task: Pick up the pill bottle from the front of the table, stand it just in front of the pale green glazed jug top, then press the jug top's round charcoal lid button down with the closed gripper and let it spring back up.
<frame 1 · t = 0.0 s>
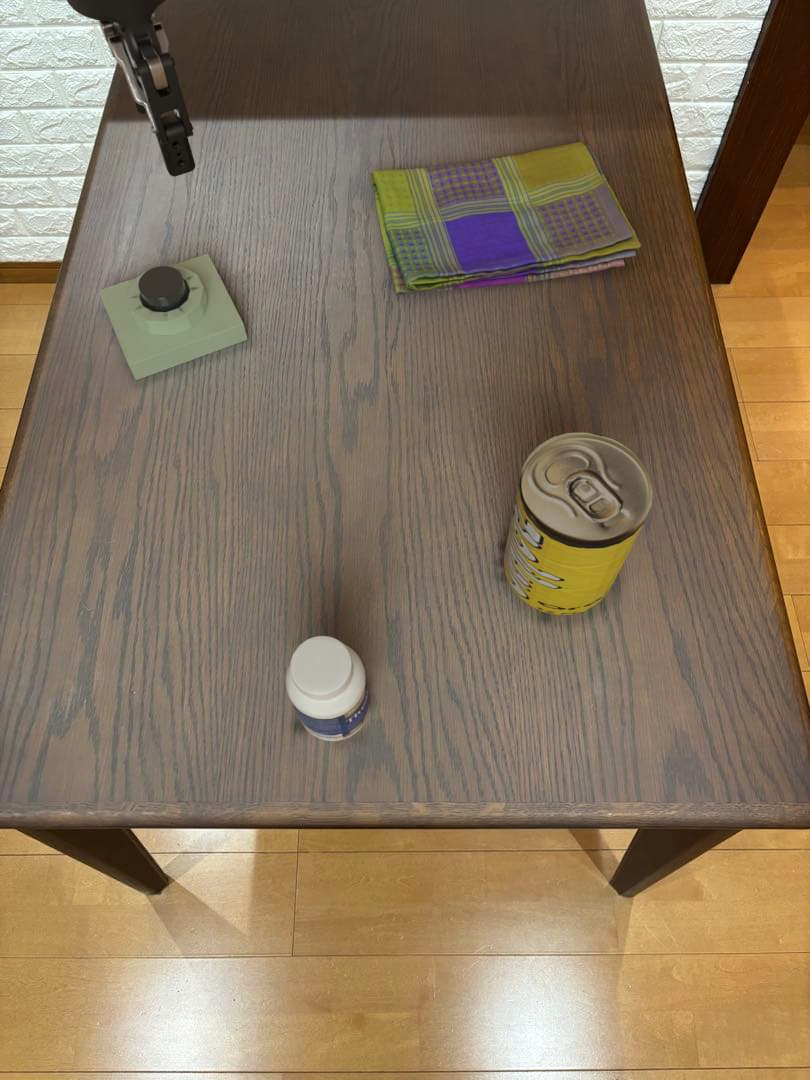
hand: (166, 139, 68), 15 cm above the table, tool pointing down, fingers open, 8 cm apart
lid button: (163, 289, 75), point 4 cm above the table, slide at 0.1 cm
beverage can: (558, 564, 67), on the table
dish towel: (499, 225, 84), on the table
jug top: (176, 323, 79), on the table
pill bottle: (334, 707, 62), on the table
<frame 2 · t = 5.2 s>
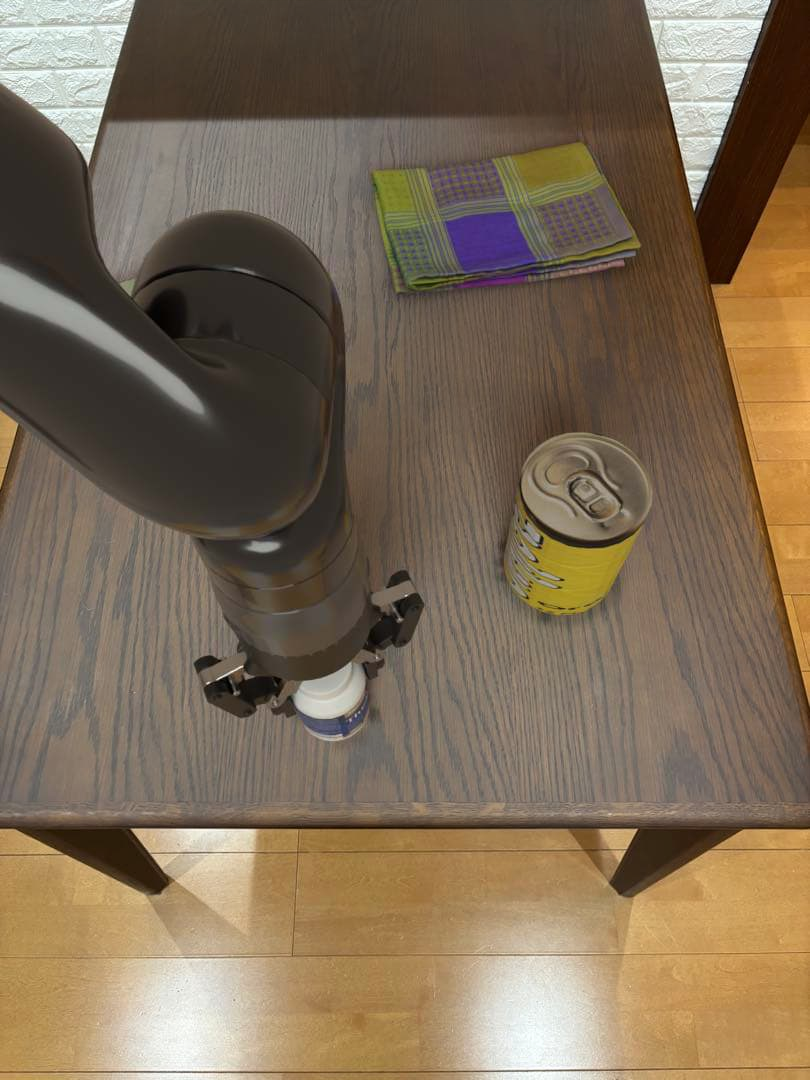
hand: (327, 684, 56), 5 cm above the table, tool pointing down, fingers closed on pill bottle, 5 cm apart
pill bottle: (334, 707, 62), on the table, touching gripper
everything else where it was.
when the fingers open (5 cm above the table, at t = 12.6 s): pill bottle stays where it is, on the table.
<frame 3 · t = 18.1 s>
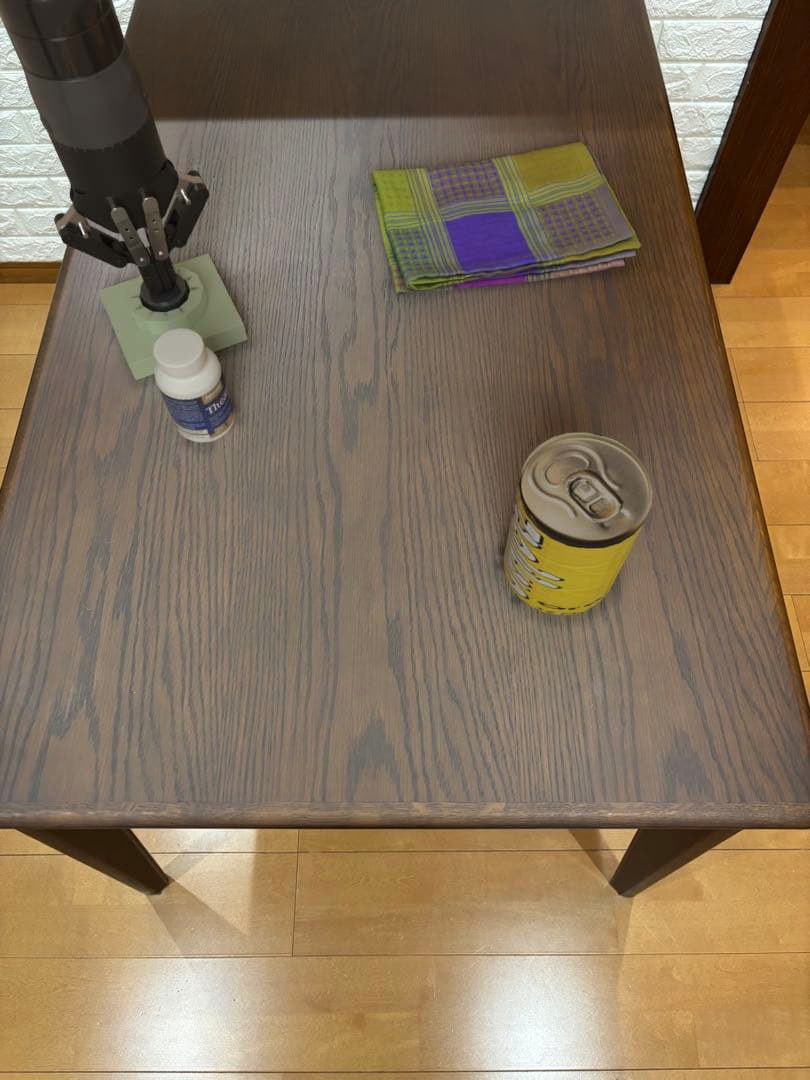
hand: (162, 286, 75), 5 cm above the table, tool pointing down, fingers closed
lid button: (164, 293, 75), point 4 cm above the table, slide at -0.5 cm, touching gripper
pill bottle: (207, 421, 74), on the table
everything else where it was.
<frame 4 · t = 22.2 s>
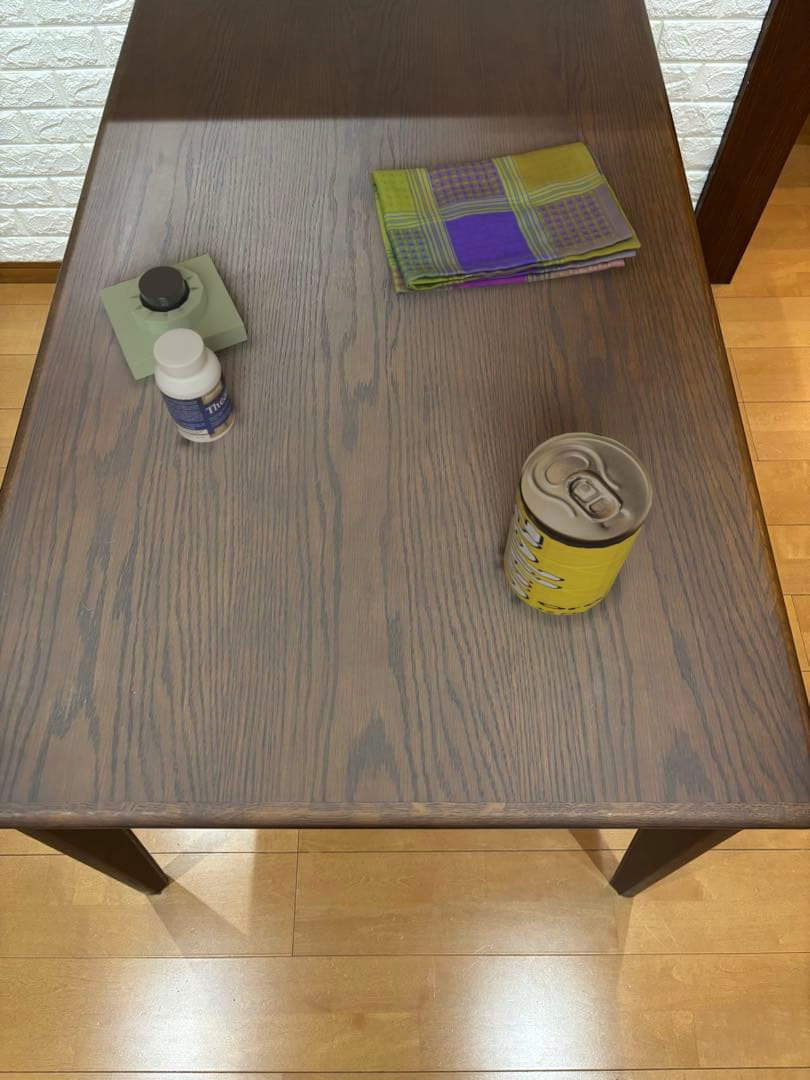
lid button: (163, 289, 75), point 4 cm above the table, slide at 0.1 cm
everything else where it was.
at the end: pill bottle 0.1 cm from the target spot on the table beside the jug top, on the table; pill bottle tilted 0°; lid button pushed in 1.0 cm at the most during the clip, back to where it started at the end; lid button slide at 0.1 cm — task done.
